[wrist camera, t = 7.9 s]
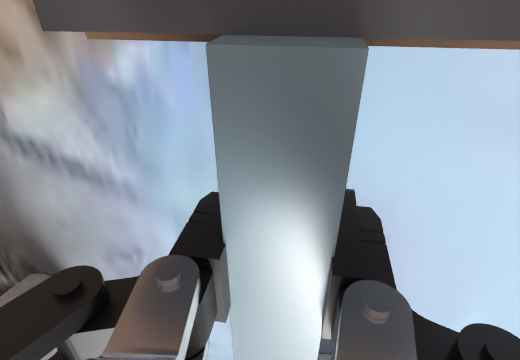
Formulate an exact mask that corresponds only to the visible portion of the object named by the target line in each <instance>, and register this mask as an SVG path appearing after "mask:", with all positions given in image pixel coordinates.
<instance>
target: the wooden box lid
mask: <svg viewBox="0 0 520 360" xmlns="http://www.w3.org/2000/svg"><path fill="white" fill-rule="evenodd" d="M86 36H87V39H113V40H154V41H195V42H211V41H212V40H214V39H216V38H218V37H220V36H221V35H211V34H165V33H119V32H86ZM363 40H364V41H365V43H366V45H367V46H398V47H438V48H479V49H520V41H489V40H443V39H396V38H363Z"/></svg>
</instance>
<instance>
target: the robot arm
mask: <svg viewBox="0 0 520 360" xmlns="http://www.w3.org/2000/svg"><path fill="white" fill-rule="evenodd" d="M230 306H231V300H230V288H229V276H228V264H227V252H226V244H223V233H222V222H221V211H220V199H219V192H211V193H209V194H208V195H206V196H205V197H204V198H202V199H201V200H200V201H199V203H198V205H197V206H196V208H195V210H194V213H192V215H191V217H190V219H189V222H187V224H186V225H185V227H184V229H183V231H182V232H181V234H180V236H179V238H178V239H177V241H176V243H175V244H174V246H173V248H172V250H171V251H170V253H169V255H168V256H165V257H161V258H159V259H157V260H155V261H153V262H151V263H150V264H149V265H147V266H146V267H145V268H144V270H143V271H142V272H141V274H140V276H137V277H132V278H124V279H117V280H109V281H104V279H103V277H102V274H101V272H100V271H99V270H98V269H96V268H94V267H91V266H75V267H71V268H67V269H65V270H62V271H60V272H58V273H56V274H54V275H53V276H51V277H49V278H48V279H46V280H44V281H43V282H41V283H39V284H38V285H36V286H34V287H33V288H31V289H29V290H28V291H26V292H24V293H23V294H21V295H20V296H18V297H16V298H15V299H13V300H11V301H10V302H8V303H6V304H5V305H3V306H1V307H0V360H40V359H42V358H43V357H44V356H46V355H47V354H48V353H50V352H51V351H52V350H53V349H55V348H57V349H58V352H57V353H55V354H54V355H53V356H52V357H50V358H49V359H48V360H207V355H208V350H209V336H210V333H211V330H212V327H213V324H214V321H218V322H224V323H226V320H227V316H228V313H229V310H230ZM322 338H323V339H329V340H331V360H520V339H519V338H518V337H516V336H515V335H513V334H511V333H510V332H508V331H506V330H504V329H502V328H499V327H496V326H493V325H489V324H482V323H477V324H471V325H468V326H466V327H464V328H463V329H462V330H461V332H460V333H459V332H456V331H454V330H451V329H449V328H446V327H444V326H441V325H439V324H437V323H434V322H432V321H430V320H427V319H425V318H424V317H422V316H420V315H418V314H417V313H416V312H414V311H413V310H412V309H411V308H410V305H409V303H408V302H407V300H406V299H405V298H404V296H403V295H402V294H401V293H399V292H398V291H397V289H396V285H395V281H394V276H393V272H392V268H391V263H390V259H389V254H388V250H387V246H386V241H385V237H384V234H383V228H382V224H381V219H380V218H379V217H378V215H377V214H376V213H375V212H374V211H373V209H372V208H371V207H361V206H356V198H355V191H354V189H345V195H344V201H343V207H342V213H341V219H340V225H339V231H338V237H337V243H336V249H335V256H334V257H332V258H331V264H330V270H329V276H328V283H327V289H326V295H325V302H324V308H323V314H322Z"/></svg>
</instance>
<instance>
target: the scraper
mask: <svg viewBox="0 0 520 360" xmlns="http://www.w3.org/2000/svg"><path fill="white" fill-rule="evenodd" d="M33 3H34V6H35V9H36V12H37V15H38V18H39V21H40V24H41V27H42V30H43V31H73V32H119V33H165V34H211V35H221V36H220V37H218V38H216V39H214V40H212V41H211V42H209V43H207V44H206V53H207V64H208V76H209V87H210V98H211V109H212V121H213V132H214V143H215V154H216V166H217V177H218V188H219V199H220V211H221V222H222V233H223V244H226V252H227V264H228V276H229V288H230V300H231V306H230V310H229V312H230V323H231V334H232V346H233V357H234V360H317V358H318V352H319V346H320V340H321V334H322V314H323V308H324V302H325V295H326V289H327V283H328V276H329V270H330V264H331V258H332V257H334V256H335V249H336V243H337V237H338V231H339V225H340V219H341V213H342V207H343V201H344V195H345V189H346V183H347V177H348V171H349V165H350V159H351V153H352V147H353V141H354V135H355V129H356V123H357V116H358V110H359V104H360V98H361V92H362V86H363V80H364V74H365V68H366V62H367V56H368V50H369V48H368V46H367V45H366V43H365V41H364V40H363V38H396V39H443V40H489V41H520V0H33Z"/></svg>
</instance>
